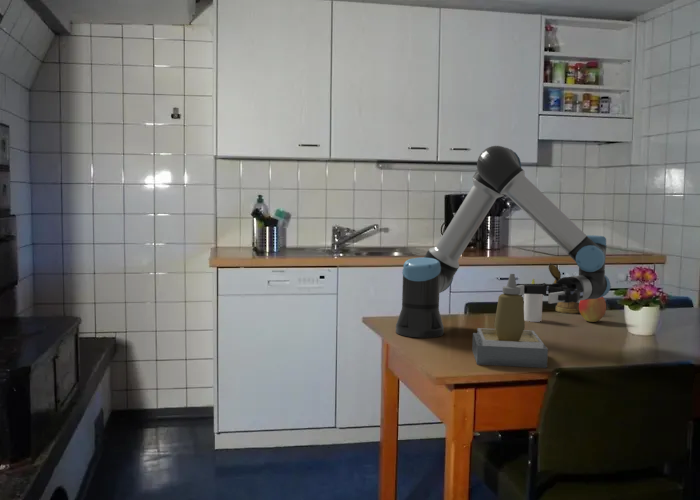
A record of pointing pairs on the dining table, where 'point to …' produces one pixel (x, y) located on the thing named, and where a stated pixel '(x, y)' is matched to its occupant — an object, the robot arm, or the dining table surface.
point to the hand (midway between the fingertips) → (528, 295)
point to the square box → (509, 350)
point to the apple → (592, 309)
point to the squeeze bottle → (510, 312)
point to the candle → (533, 307)
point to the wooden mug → (562, 306)
